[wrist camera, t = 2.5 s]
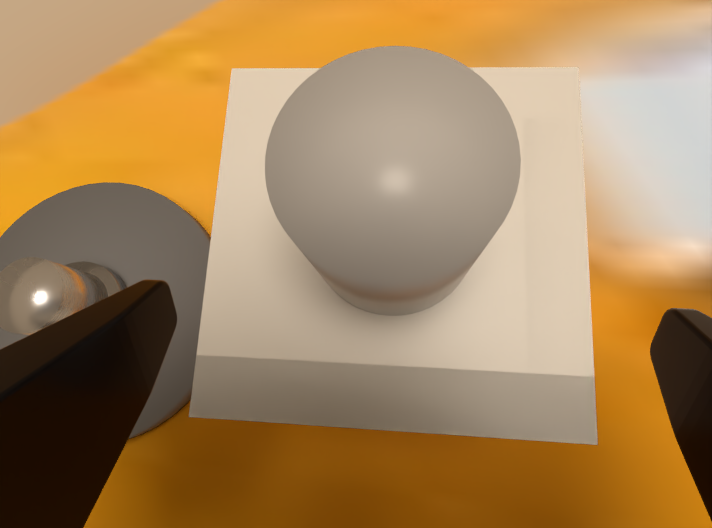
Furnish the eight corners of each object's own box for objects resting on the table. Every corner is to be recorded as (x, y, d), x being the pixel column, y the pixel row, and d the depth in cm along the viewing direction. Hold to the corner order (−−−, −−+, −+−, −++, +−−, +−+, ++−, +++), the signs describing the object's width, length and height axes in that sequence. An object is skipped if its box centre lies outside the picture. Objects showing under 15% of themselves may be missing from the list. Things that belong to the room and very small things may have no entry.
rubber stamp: (482, 401, 17) (736, 496, 4) (305, 390, 17) (62, 445, 5) (482, 228, 18) (673, -92, 6) (317, 224, 19) (153, -74, 6)
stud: (72, 369, 17) (5, 369, 14) (31, 300, 18) (-40, 286, 15) (144, 314, 17) (93, 302, 14) (101, 248, 18) (44, 224, 15)
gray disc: (61, 502, 17) (41, 510, 16) (-54, 291, 20) (-78, 287, 19) (279, 332, 18) (273, 330, 17) (144, 146, 20) (132, 135, 19)
